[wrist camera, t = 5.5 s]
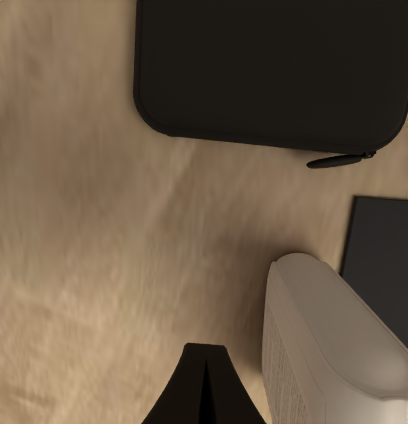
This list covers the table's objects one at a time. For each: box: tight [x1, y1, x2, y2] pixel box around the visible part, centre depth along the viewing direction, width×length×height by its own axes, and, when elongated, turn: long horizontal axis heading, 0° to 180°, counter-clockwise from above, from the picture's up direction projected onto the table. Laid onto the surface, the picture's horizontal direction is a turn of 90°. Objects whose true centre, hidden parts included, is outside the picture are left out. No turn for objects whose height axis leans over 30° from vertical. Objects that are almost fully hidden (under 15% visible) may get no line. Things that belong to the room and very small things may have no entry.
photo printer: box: [262, 253, 408, 424], centre depth 16 cm, size 10×4×12 cm, turn 179°
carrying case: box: [133, 0, 408, 169], centre depth 17 cm, size 11×3×15 cm
